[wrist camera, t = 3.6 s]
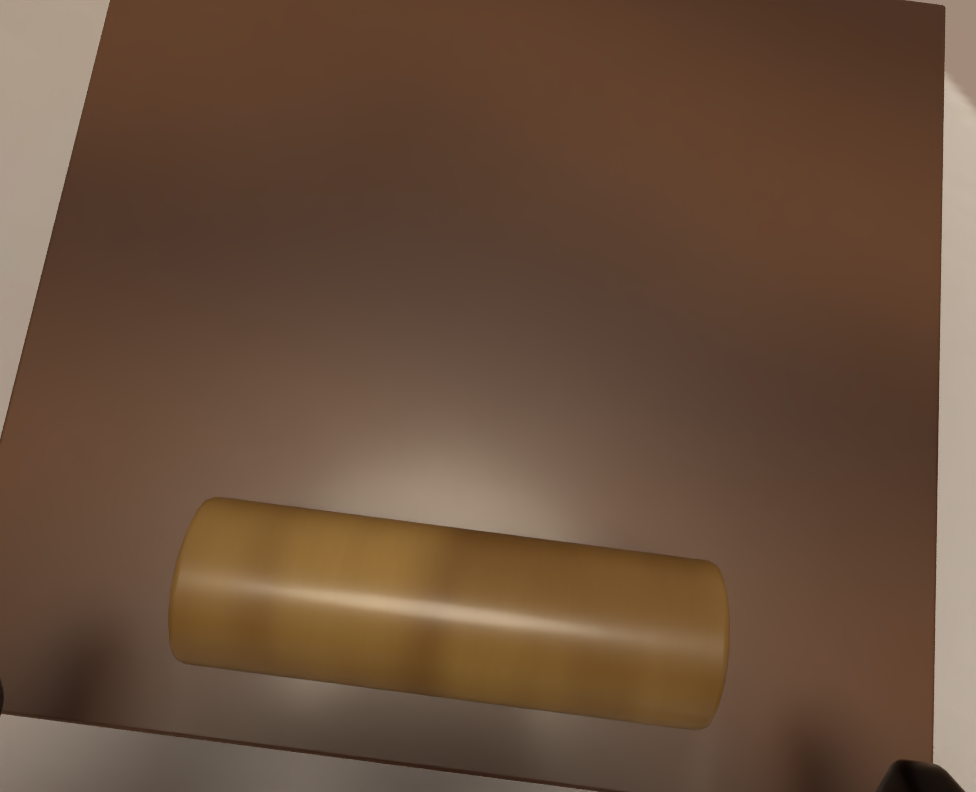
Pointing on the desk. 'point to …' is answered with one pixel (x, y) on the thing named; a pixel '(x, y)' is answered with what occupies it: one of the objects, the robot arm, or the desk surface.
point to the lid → (492, 390)
